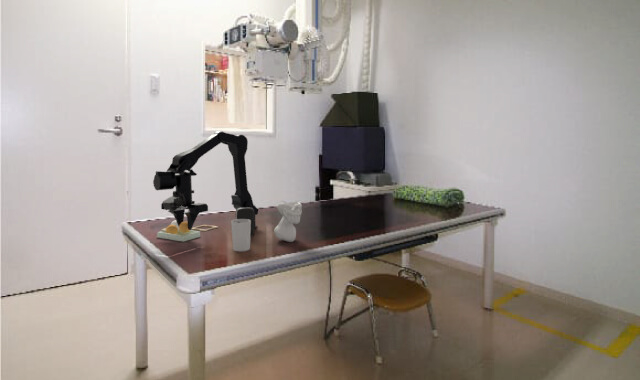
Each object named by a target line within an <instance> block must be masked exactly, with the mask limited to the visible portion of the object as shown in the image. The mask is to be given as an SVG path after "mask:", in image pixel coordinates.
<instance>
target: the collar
mask: <svg viewBox="0 0 640 380" xmlns="http://www.w3.org/2000/svg"><path fill="white" fill-rule="evenodd" d="M203 227H204V228H205V227H207V228H205V229H203ZM216 229H219V226H218V225H217V226H216V225H211V224H210V225H209V224H202V225H198V226H197V225H196V226H194V227H193V226H192V229H191V230H193V231H200V232H208V231H212V230H216Z"/></svg>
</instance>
